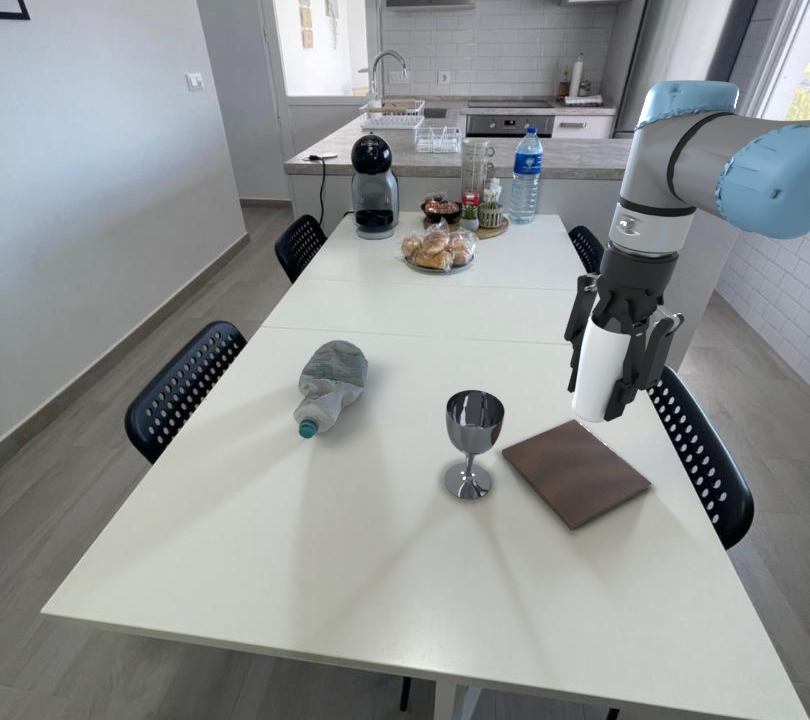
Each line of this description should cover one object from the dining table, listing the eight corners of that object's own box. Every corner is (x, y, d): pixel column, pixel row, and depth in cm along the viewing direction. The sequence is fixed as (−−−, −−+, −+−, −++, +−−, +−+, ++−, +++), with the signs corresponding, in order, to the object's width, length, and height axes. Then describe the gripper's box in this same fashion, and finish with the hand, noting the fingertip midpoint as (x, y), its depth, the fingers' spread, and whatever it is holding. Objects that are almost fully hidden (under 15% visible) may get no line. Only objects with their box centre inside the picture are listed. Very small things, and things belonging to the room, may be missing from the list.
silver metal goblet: (503, 479, 70) (516, 407, 61) (472, 511, 65) (482, 438, 56) (462, 453, 74) (469, 382, 66) (431, 481, 70) (434, 409, 61)
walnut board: (649, 487, 68) (651, 483, 68) (571, 530, 62) (572, 525, 62) (573, 422, 80) (574, 418, 79) (501, 453, 74) (501, 449, 74)
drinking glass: (588, 434, 60) (617, 340, 52) (555, 404, 65) (577, 315, 57) (626, 419, 63) (660, 328, 54) (591, 392, 68) (617, 304, 59)
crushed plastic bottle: (316, 359, 96) (266, 441, 76) (315, 331, 92) (262, 410, 72) (376, 370, 95) (341, 456, 75) (377, 341, 91) (341, 424, 70)
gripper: (556, 224, 55) (528, 373, 69) (701, 286, 41) (630, 457, 55) (601, 215, 58) (565, 360, 71) (751, 269, 44) (671, 436, 57)
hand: (593, 402), depth 63 cm, fingers closed on drinking glass, 6 cm apart
